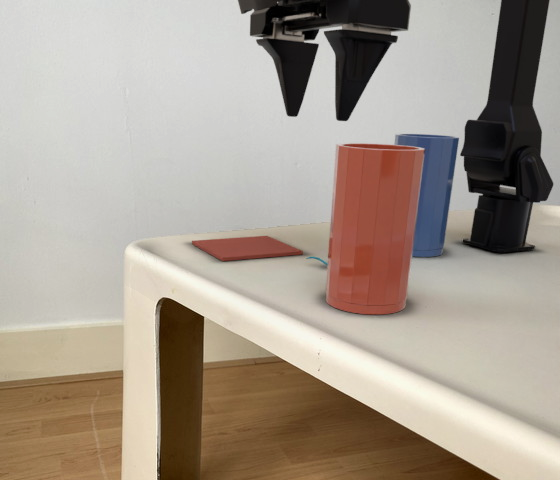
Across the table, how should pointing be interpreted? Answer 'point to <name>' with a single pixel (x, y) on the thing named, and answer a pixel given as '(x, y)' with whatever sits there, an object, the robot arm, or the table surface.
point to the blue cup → (433, 190)
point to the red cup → (373, 226)
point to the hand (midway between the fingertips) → (315, 118)
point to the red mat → (246, 248)
